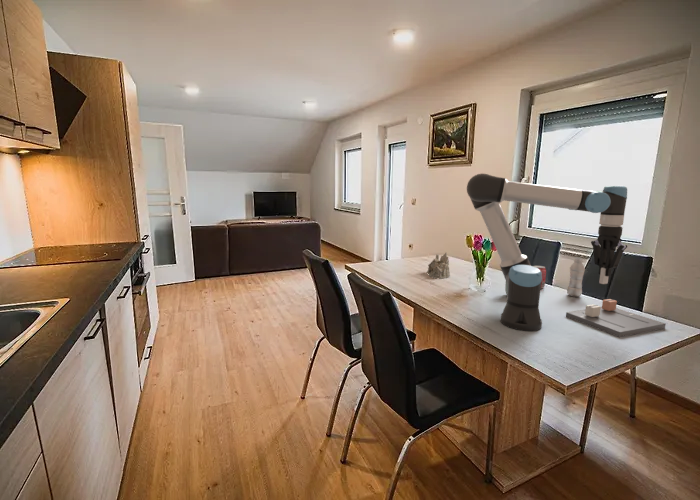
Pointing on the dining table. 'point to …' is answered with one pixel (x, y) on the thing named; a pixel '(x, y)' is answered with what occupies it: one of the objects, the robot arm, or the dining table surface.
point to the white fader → (592, 310)
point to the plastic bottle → (576, 278)
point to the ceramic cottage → (439, 267)
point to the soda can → (542, 275)
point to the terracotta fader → (609, 304)
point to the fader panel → (617, 322)
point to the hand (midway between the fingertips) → (603, 283)
